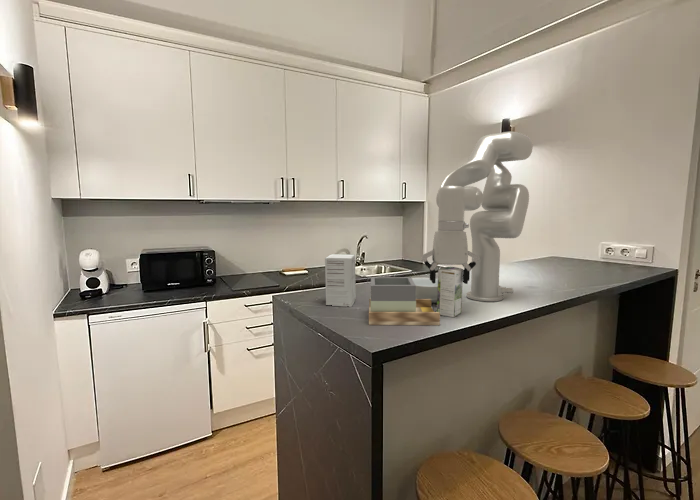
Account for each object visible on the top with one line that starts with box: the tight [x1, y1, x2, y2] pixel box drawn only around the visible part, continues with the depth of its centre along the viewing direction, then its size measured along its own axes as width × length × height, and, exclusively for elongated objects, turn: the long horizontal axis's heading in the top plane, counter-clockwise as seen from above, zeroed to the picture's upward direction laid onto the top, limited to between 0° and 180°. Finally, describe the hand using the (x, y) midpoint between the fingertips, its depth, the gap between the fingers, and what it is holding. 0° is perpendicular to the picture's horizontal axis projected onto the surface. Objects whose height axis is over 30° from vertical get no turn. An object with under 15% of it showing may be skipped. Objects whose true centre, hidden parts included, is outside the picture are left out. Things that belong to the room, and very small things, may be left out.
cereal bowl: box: [411, 277, 438, 304], centre depth 130 cm, size 17×17×7 cm
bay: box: [368, 298, 441, 326], centre depth 111 cm, size 20×16×4 cm
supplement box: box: [324, 253, 357, 308], centre depth 127 cm, size 10×9×17 cm
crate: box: [370, 276, 416, 312], centre depth 111 cm, size 13×13×10 cm
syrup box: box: [436, 266, 464, 318], centre depth 112 cm, size 6×6×14 cm
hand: (449, 282), depth 112 cm, fingers open, 9 cm apart
